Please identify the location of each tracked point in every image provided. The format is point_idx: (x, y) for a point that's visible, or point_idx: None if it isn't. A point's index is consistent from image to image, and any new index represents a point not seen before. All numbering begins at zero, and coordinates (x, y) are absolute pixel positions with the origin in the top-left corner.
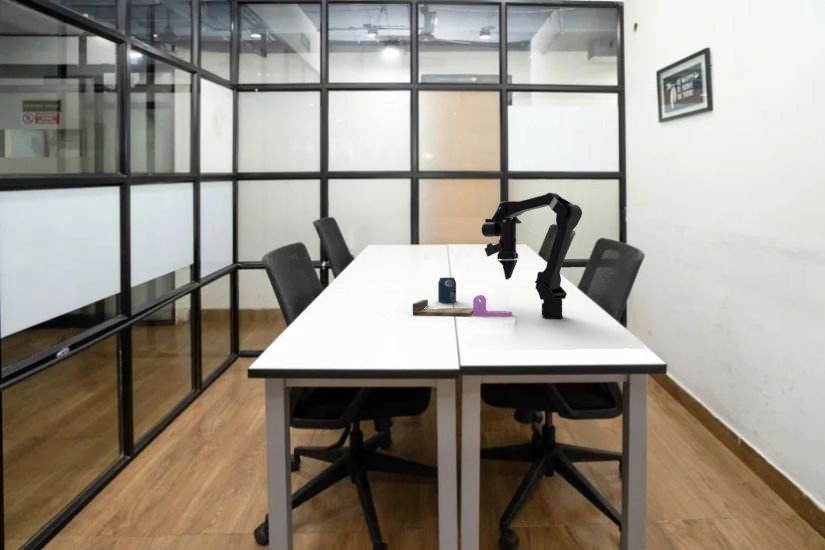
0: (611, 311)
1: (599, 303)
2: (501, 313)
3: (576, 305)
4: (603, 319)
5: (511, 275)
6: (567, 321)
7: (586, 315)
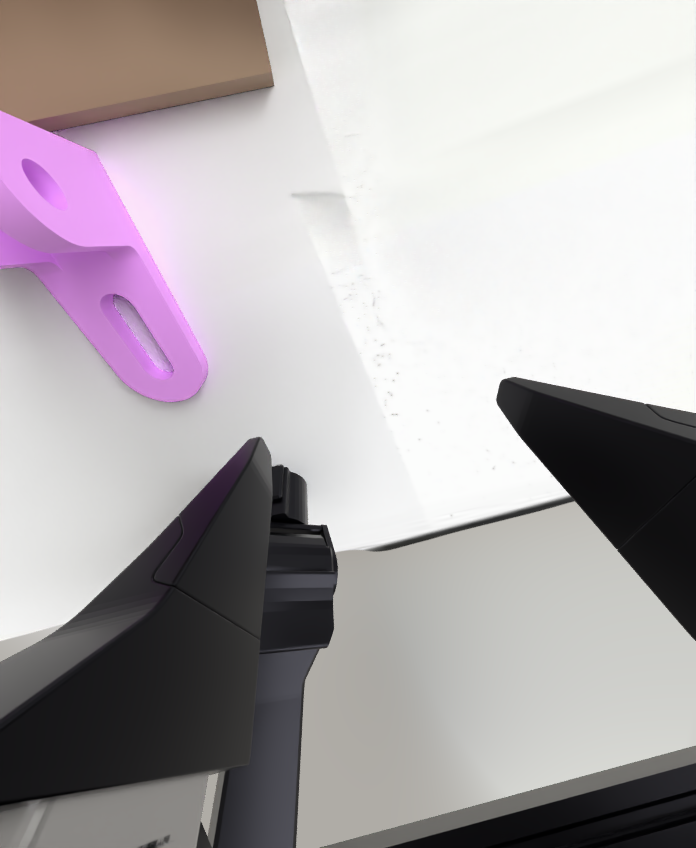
0: (427, 539)
1: None
2: (115, 367)
3: None
4: None
5: (517, 425)
6: None
7: None
